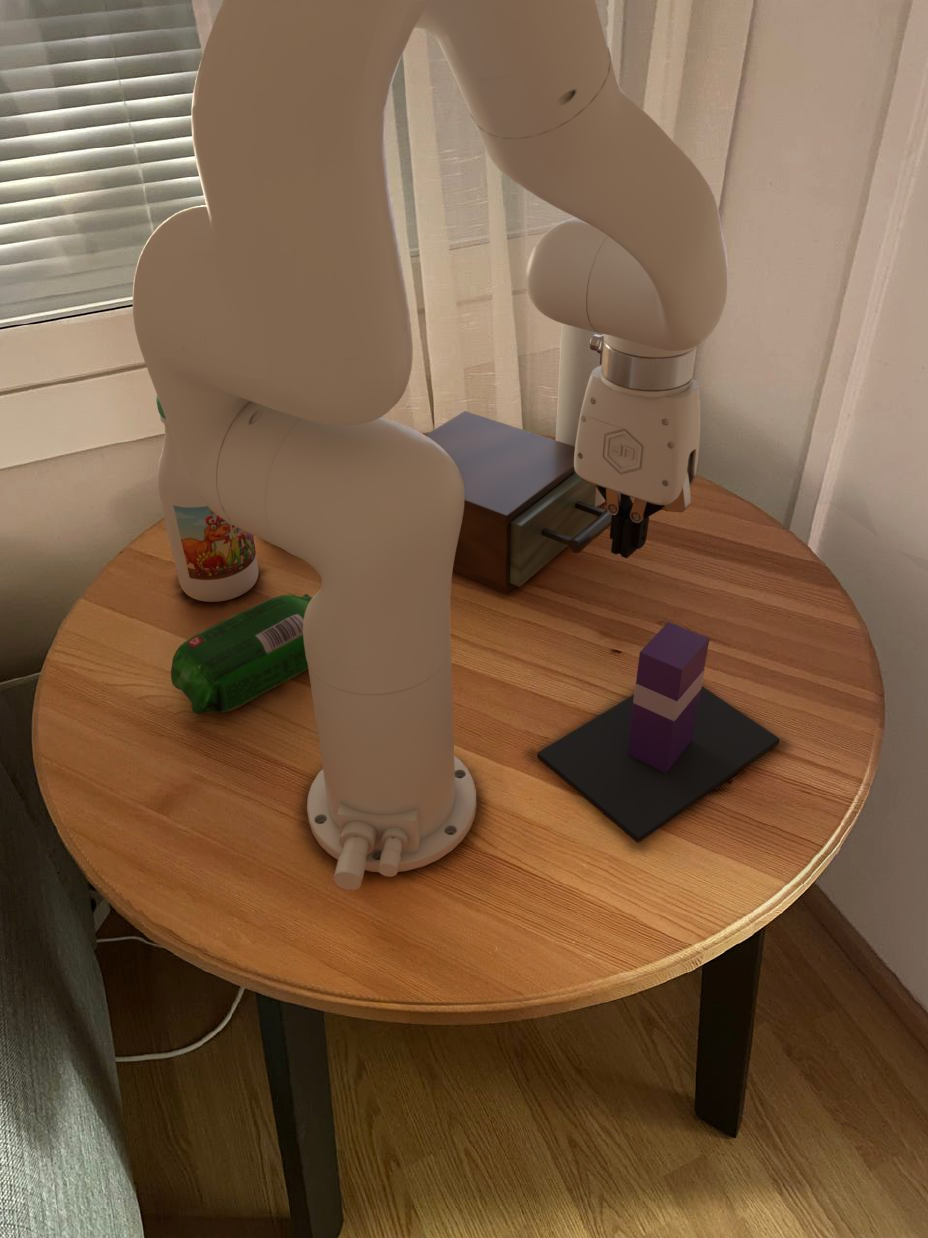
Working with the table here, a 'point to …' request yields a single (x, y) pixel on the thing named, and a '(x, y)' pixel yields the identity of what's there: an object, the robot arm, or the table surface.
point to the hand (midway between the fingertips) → (626, 548)
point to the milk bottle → (201, 534)
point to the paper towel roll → (574, 383)
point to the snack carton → (667, 695)
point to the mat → (642, 790)
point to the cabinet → (497, 488)
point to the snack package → (243, 655)
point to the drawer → (555, 527)
